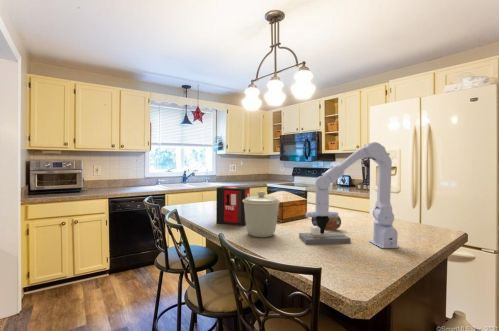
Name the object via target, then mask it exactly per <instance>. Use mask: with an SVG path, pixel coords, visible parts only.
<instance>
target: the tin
mask: <svg viewBox="0 0 499 331" xmlns="http://www.w3.org/2000/svg"><path fill="white" fill-rule="evenodd" d="M328 218H329V221H328V223H327V225H326V227H325V230H329V231H336V230H338V229H339V228H340V227H341V225H342V219H341V217H340V215H338V217H328ZM310 219H311V224H312V226H318V224H317V222H316V220H315V217H311V218H310Z"/></svg>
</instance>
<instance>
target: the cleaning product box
mask: <svg viewBox="0 0 499 331" xmlns="http://www.w3.org/2000/svg"><path fill="white" fill-rule="evenodd" d="M250 192H251V190H250V187H247V186H246V187H245V186H225V185H224V186H223V185H222V186H218V187H216V206H215V207H216V209H215V210H216V212H215V213H216V218H215V219H216V224H217V225H227V226H228V225H229V226H240V227H245V226H246V220H245V210H244V202H243V201H242V200H244V199H245V198H247V197H250V196H251V195H250V194H251V193H250Z"/></svg>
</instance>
